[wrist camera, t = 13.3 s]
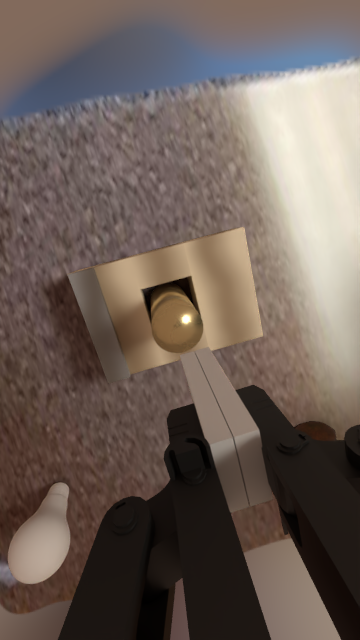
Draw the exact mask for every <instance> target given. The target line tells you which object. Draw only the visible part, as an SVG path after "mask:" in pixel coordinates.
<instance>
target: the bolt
mask: <svg viewBox="0 0 360 640" xmlns="http://www.w3.org/2000/svg"><path fill="white" fill-rule="evenodd" d="M295 429H297V430H300V431H302V432H305V433H306V434H307V435H309V436H310V437H311V438H312V439H314V440H321V441H335V440H336V434H335V430H333V429H332V428H331V427H329V426H328V425H326V424H324V423H321V422H315V421H309V422H306V423H302V424H299V425H298V426H296V427H295Z"/></svg>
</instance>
